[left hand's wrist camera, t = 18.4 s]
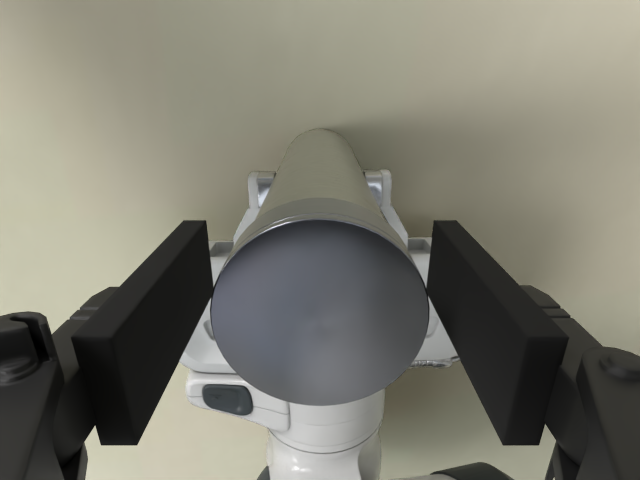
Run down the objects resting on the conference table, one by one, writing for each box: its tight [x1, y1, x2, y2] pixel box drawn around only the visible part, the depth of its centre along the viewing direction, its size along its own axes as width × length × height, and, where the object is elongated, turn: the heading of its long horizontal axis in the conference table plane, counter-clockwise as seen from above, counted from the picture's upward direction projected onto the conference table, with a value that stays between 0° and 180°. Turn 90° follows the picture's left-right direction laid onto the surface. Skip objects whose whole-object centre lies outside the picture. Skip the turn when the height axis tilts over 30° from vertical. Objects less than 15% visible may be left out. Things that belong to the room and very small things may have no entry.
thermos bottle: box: [255, 129, 384, 220], centre depth 20 cm, size 5×5×20 cm
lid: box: [210, 198, 430, 406], centre depth 11 cm, size 6×6×2 cm
